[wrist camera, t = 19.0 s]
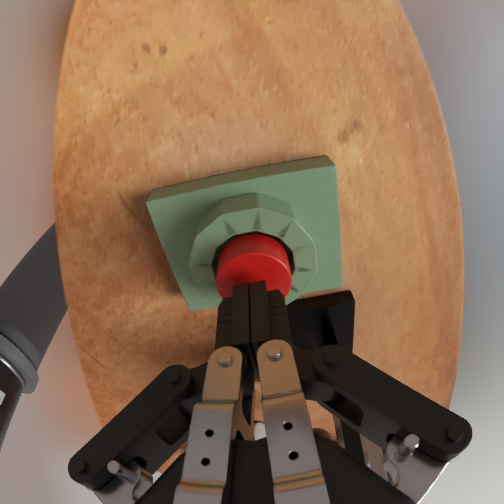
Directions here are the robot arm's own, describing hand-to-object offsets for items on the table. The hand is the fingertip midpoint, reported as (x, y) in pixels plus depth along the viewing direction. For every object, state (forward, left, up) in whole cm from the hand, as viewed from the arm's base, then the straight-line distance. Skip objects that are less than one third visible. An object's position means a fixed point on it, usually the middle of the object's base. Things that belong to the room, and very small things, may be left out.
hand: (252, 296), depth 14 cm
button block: (0, 0, -5) cm, 5 cm away
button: (0, 0, -2) cm, 2 cm away
